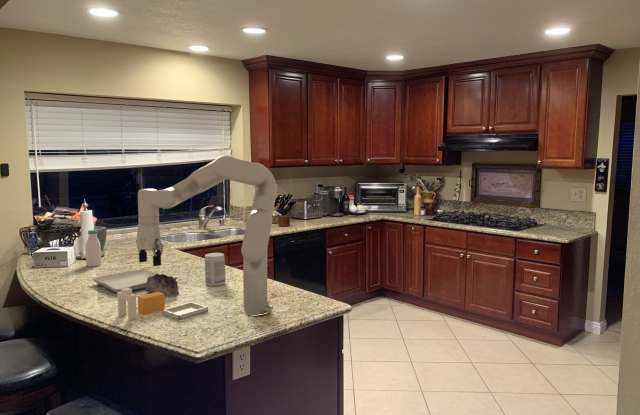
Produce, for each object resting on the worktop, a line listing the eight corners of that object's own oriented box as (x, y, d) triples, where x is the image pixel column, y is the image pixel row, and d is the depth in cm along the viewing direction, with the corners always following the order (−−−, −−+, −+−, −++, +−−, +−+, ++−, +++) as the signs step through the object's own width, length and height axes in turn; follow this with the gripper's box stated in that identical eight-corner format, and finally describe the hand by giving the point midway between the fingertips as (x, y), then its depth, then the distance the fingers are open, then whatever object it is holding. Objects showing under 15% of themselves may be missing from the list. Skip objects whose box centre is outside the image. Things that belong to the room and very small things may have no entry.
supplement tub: (226, 281, 244) (226, 252, 242) (223, 286, 235) (223, 256, 233) (207, 281, 244) (206, 252, 242) (203, 286, 234) (202, 256, 233)
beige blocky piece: (136, 318, 185) (135, 290, 183) (129, 320, 182) (128, 291, 181) (124, 313, 190) (123, 286, 189) (118, 315, 188) (117, 287, 186)
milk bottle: (104, 265, 277) (102, 230, 275) (91, 267, 271) (90, 231, 269) (96, 263, 281) (94, 229, 279) (83, 265, 275) (81, 230, 273)
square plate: (90, 285, 236) (90, 277, 236) (144, 275, 256) (144, 268, 256) (116, 296, 218) (115, 288, 217) (171, 285, 238) (171, 277, 237)
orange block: (164, 309, 196) (164, 293, 196) (144, 315, 189) (144, 298, 189) (158, 307, 199) (157, 291, 198) (138, 312, 192) (137, 296, 191)
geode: (189, 296, 219) (186, 275, 217) (165, 305, 211) (162, 283, 209) (166, 285, 233) (163, 265, 231) (143, 293, 225) (140, 273, 223)
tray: (208, 311, 194) (208, 306, 194) (178, 320, 183) (178, 315, 183) (191, 306, 200) (191, 301, 200) (162, 314, 190) (162, 309, 190)
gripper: (128, 219, 193) (129, 262, 195) (152, 223, 182) (154, 268, 184) (145, 217, 199) (146, 259, 200) (170, 221, 188) (171, 265, 190)
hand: (150, 263), depth 192 cm, fingers open, 9 cm apart
